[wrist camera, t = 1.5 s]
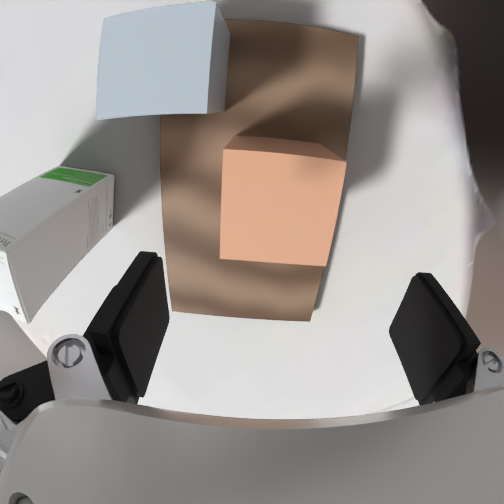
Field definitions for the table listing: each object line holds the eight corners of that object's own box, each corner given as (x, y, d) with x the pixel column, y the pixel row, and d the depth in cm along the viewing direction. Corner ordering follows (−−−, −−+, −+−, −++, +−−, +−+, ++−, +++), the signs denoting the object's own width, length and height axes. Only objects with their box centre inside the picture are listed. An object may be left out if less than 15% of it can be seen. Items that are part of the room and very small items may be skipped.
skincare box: (117, 174, 25) (9, 250, 11) (114, 231, 28) (33, 330, 14) (56, 164, 24) (-49, 225, 10) (57, 217, 27) (-29, 294, 14)
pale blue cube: (149, 39, 17) (103, 18, 10) (230, 34, 17) (216, 1, 10) (144, 113, 20) (96, 120, 13) (224, 111, 21) (206, 113, 14)
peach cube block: (235, 135, 22) (223, 149, 15) (319, 143, 22) (347, 162, 15) (231, 212, 25) (219, 258, 18) (308, 219, 25) (326, 266, 18)
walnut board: (172, 26, 18) (166, 22, 16) (352, 39, 18) (358, 36, 17) (175, 302, 32) (172, 311, 31) (308, 312, 33) (309, 321, 31)
